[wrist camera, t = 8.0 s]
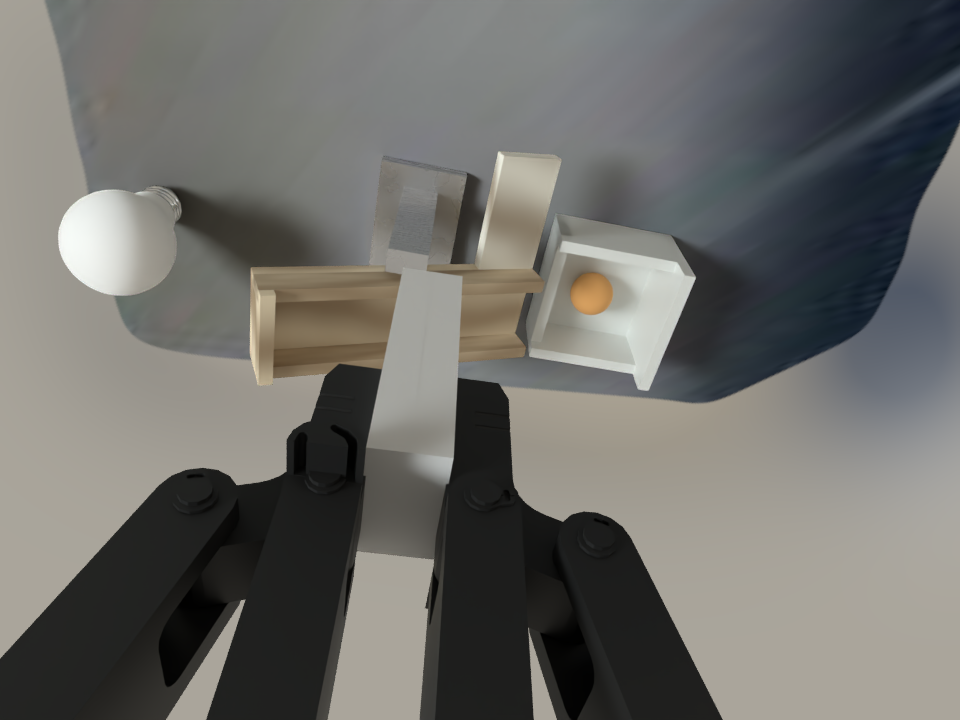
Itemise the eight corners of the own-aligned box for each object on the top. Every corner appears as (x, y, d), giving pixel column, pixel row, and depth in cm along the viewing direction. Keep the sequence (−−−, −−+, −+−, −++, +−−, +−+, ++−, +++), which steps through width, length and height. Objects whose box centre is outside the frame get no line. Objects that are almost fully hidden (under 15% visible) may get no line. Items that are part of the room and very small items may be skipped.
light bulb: (103, 205, 49) (18, 272, 40) (143, 134, 46) (61, 189, 37) (187, 258, 52) (124, 333, 43) (229, 195, 49) (172, 260, 40)
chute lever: (249, 128, 34) (263, 157, 31) (547, 149, 42) (581, 174, 39) (247, 347, 42) (258, 388, 39) (501, 331, 50) (526, 364, 47)
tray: (555, 213, 50) (566, 253, 44) (671, 235, 51) (696, 277, 45) (525, 322, 55) (531, 371, 49) (630, 340, 56) (648, 390, 50)
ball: (620, 289, 49) (617, 270, 51) (577, 279, 48) (576, 261, 51) (607, 326, 50) (604, 306, 53) (565, 317, 50) (565, 297, 53)
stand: (383, 156, 47) (359, 218, 38) (466, 172, 48) (464, 238, 38) (364, 313, 54) (340, 399, 45) (437, 325, 55) (428, 413, 45)
